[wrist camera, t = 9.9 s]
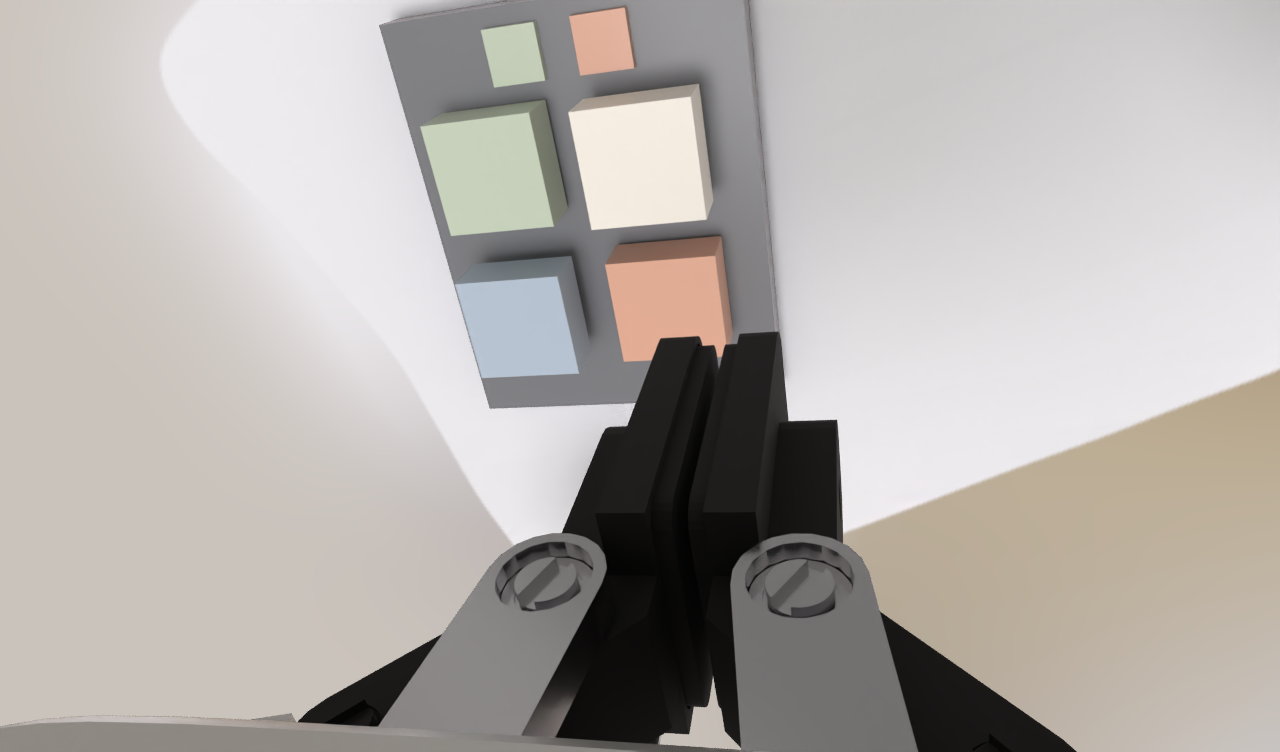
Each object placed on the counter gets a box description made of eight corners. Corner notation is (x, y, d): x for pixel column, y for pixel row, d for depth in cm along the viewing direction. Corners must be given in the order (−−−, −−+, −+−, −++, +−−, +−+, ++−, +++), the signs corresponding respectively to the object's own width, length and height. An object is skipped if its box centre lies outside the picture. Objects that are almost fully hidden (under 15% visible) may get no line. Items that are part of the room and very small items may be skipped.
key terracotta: (721, 236, 39) (714, 255, 37) (732, 332, 41) (727, 356, 39) (616, 244, 40) (605, 264, 38) (633, 338, 43) (623, 361, 41)
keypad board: (744, -39, 35) (739, -33, 33) (783, 377, 45) (781, 401, 43) (398, 18, 39) (375, 26, 37) (501, 389, 49) (487, 412, 47)
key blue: (571, 256, 40) (557, 276, 38) (591, 349, 42) (579, 373, 40) (473, 264, 41) (454, 284, 39) (498, 354, 44) (481, 378, 42)
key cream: (698, 83, 35) (690, 96, 33) (713, 200, 37) (706, 219, 35) (583, 99, 36) (568, 112, 34) (604, 211, 39) (591, 230, 37)
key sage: (545, 99, 38) (528, 112, 35) (568, 208, 40) (553, 226, 38) (441, 113, 39) (420, 126, 37) (469, 217, 41) (450, 236, 39)
